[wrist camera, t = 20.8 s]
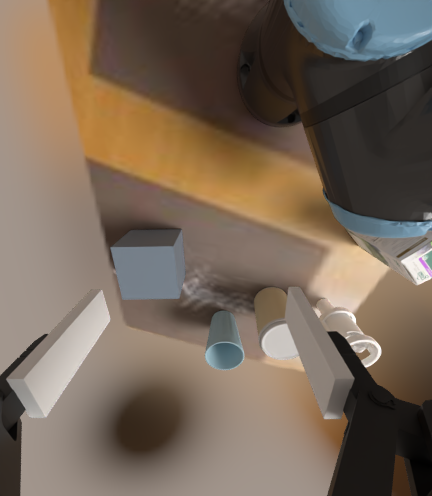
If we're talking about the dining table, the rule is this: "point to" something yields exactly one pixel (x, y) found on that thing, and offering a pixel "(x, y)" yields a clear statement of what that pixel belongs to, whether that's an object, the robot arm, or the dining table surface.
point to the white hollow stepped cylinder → (348, 330)
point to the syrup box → (401, 254)
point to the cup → (224, 342)
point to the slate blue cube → (150, 264)
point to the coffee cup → (273, 324)
